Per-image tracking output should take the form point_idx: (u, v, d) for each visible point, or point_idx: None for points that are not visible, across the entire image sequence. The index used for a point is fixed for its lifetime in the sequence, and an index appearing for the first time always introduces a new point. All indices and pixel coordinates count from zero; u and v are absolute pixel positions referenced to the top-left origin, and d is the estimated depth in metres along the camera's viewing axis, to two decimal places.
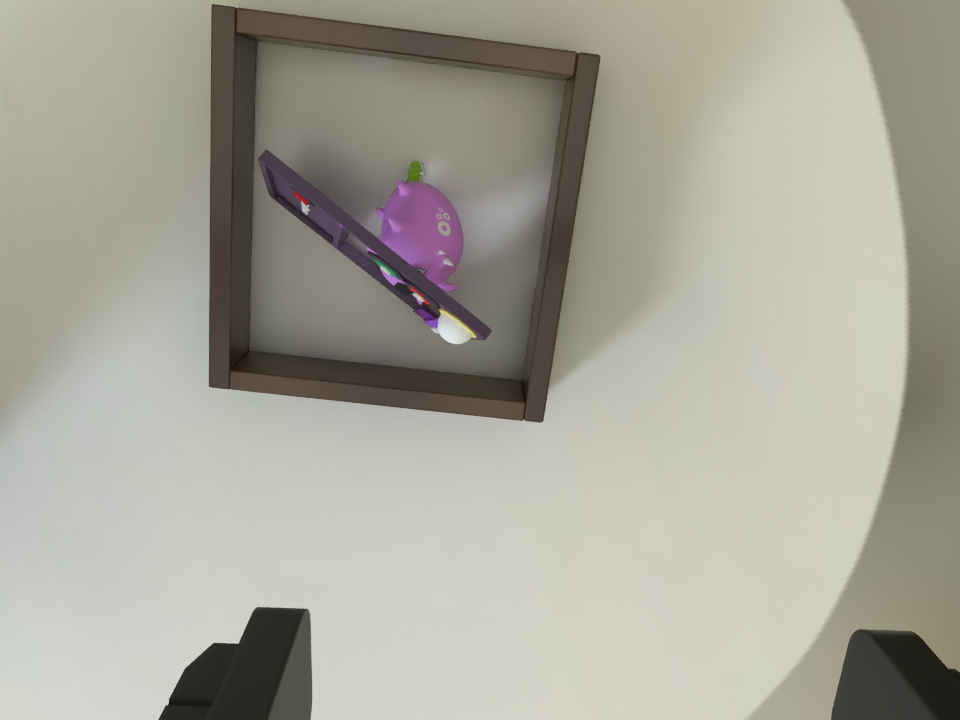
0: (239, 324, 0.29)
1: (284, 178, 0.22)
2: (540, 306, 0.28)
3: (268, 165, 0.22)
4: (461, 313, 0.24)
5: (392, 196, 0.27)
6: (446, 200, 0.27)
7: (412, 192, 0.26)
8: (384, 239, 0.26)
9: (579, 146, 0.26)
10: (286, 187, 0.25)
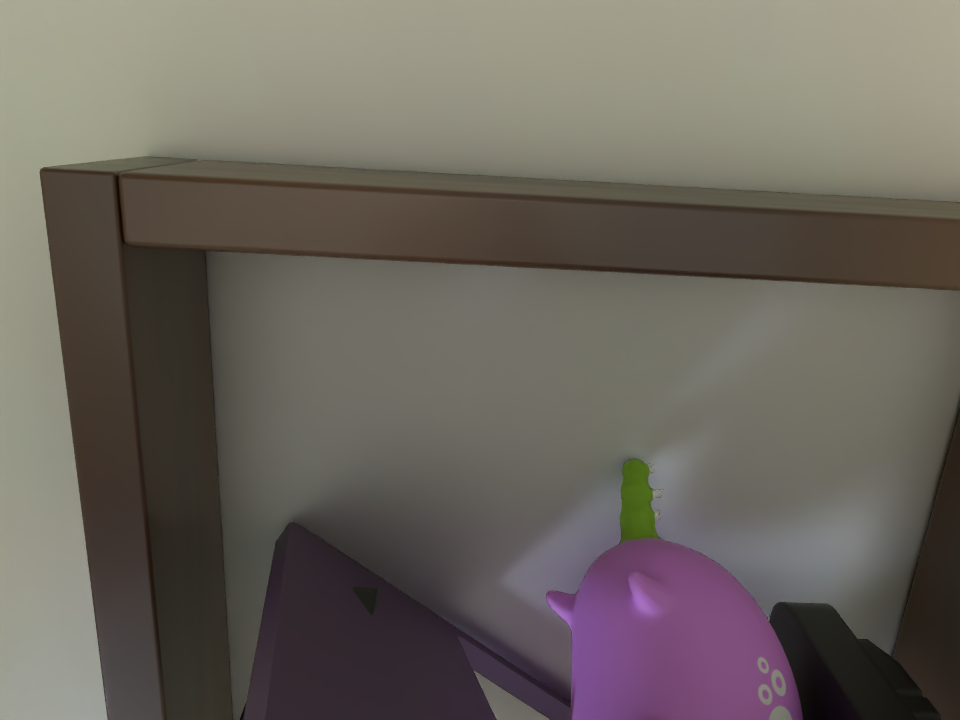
0: None
1: None
2: None
3: None
4: None
5: (607, 598, 0.10)
6: (757, 611, 0.10)
7: (675, 608, 0.09)
8: None
9: None
10: None
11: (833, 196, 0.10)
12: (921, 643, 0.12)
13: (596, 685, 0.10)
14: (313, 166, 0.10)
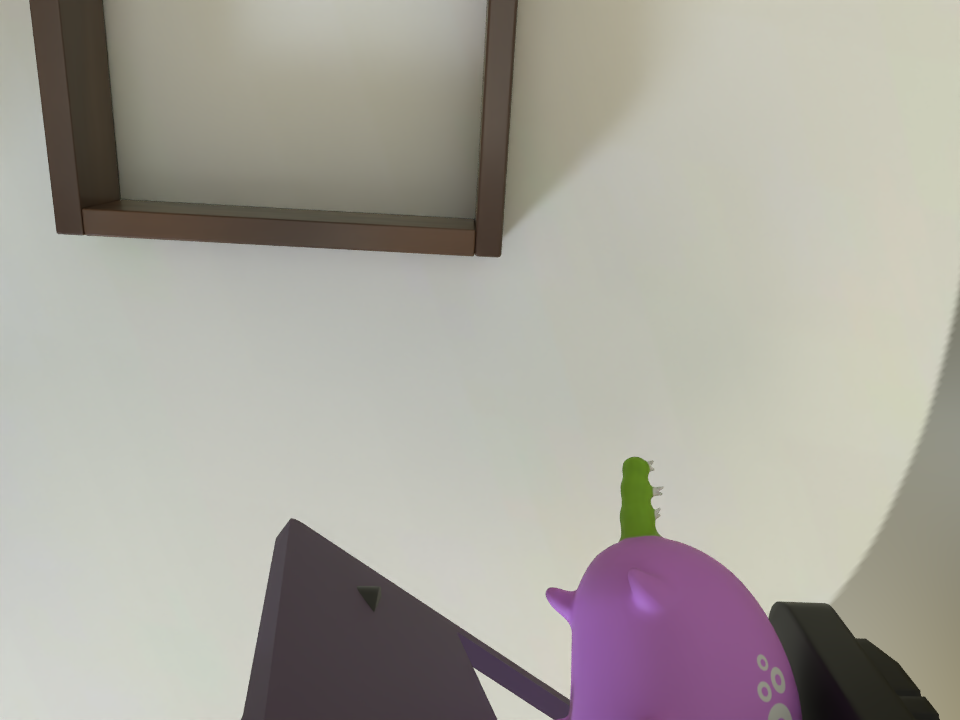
0: (95, 153, 0.22)
1: None
2: (484, 90, 0.21)
3: None
4: None
5: (607, 595, 0.10)
6: (757, 608, 0.10)
7: (675, 605, 0.09)
8: None
9: None
10: None
11: None
12: None
13: (596, 682, 0.10)
14: None
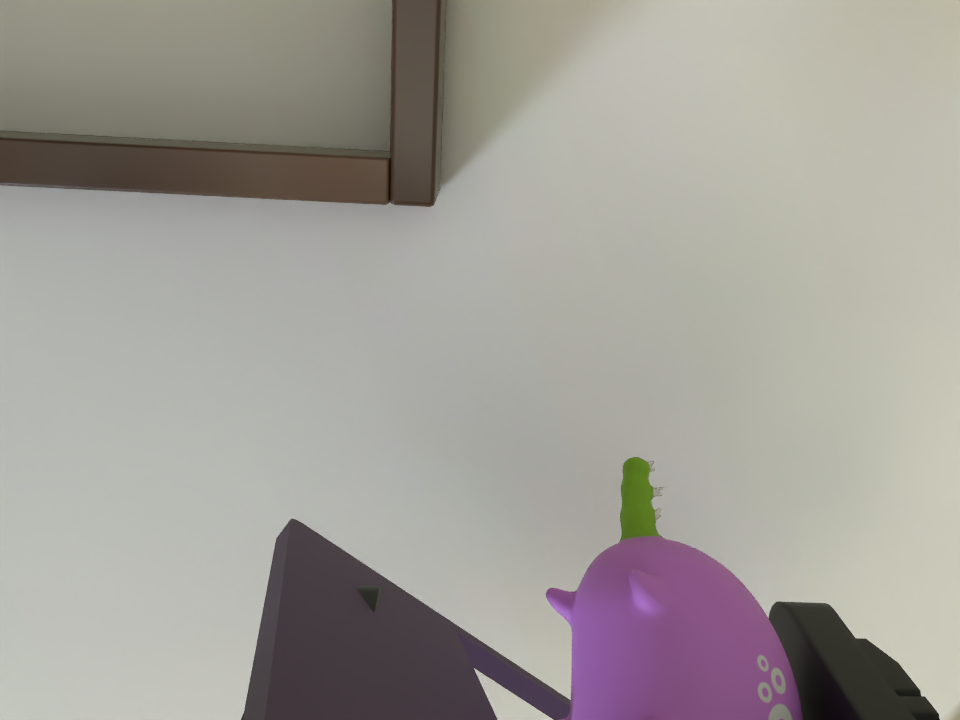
0: None
1: None
2: None
3: None
4: None
5: (608, 595, 0.10)
6: (757, 609, 0.10)
7: (675, 606, 0.09)
8: None
9: None
10: None
11: None
12: None
13: (596, 683, 0.10)
14: None
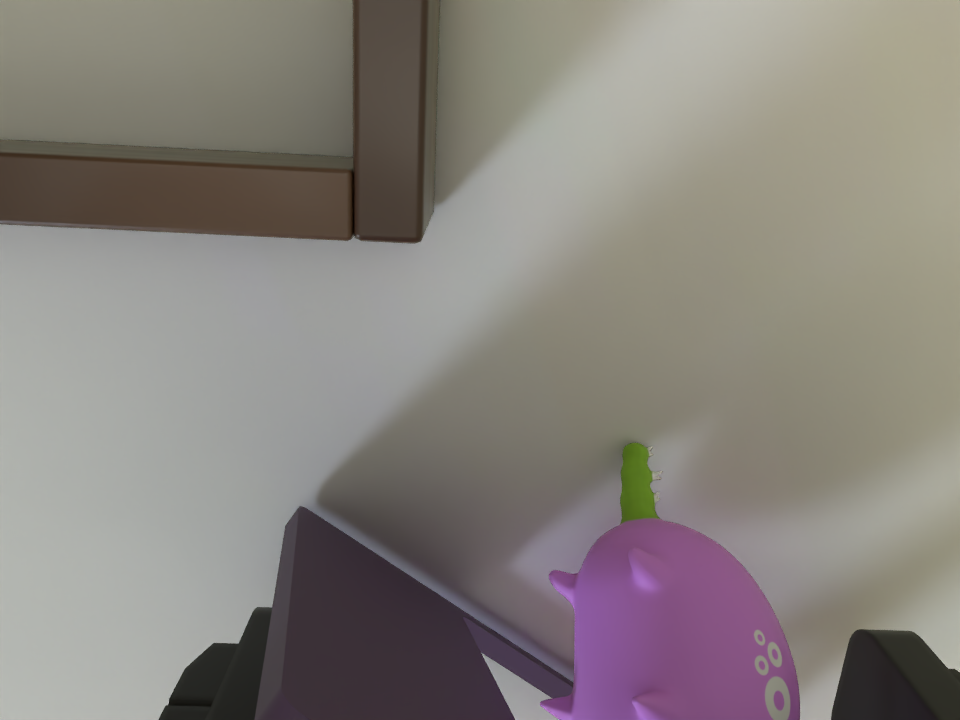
0: None
1: None
2: None
3: None
4: None
5: (608, 575, 0.10)
6: (754, 586, 0.10)
7: (674, 583, 0.10)
8: None
9: None
10: None
11: None
12: None
13: (598, 659, 0.10)
14: None
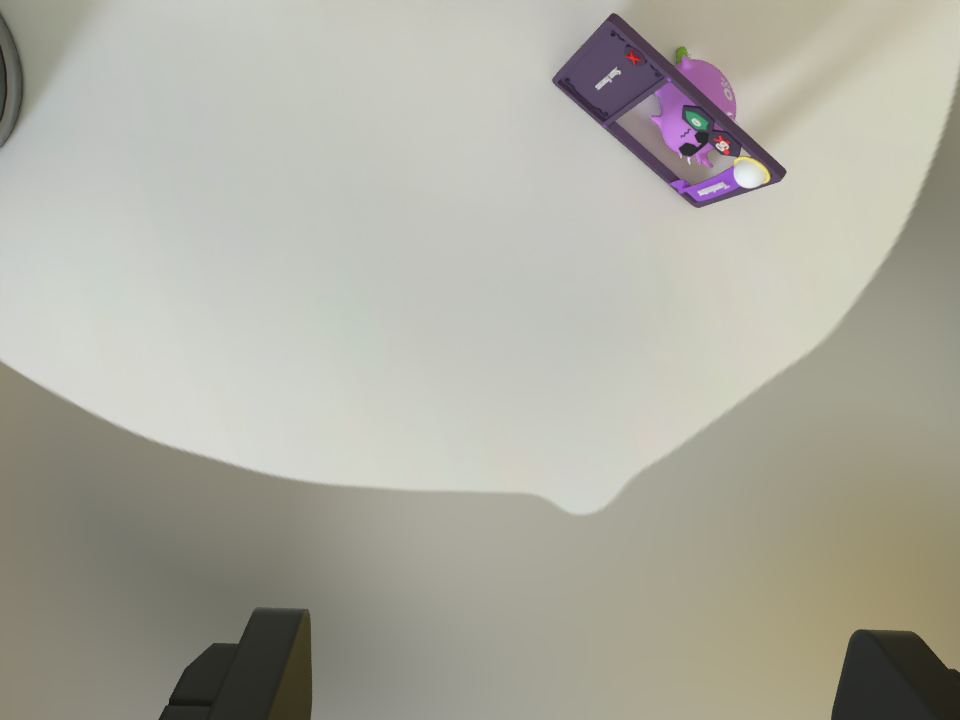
0: None
1: (628, 37, 0.27)
2: None
3: (616, 25, 0.27)
4: (764, 156, 0.28)
5: None
6: None
7: (696, 65, 0.30)
8: (676, 105, 0.30)
9: None
10: (598, 58, 0.29)
11: None
12: None
13: (671, 94, 0.31)
14: None
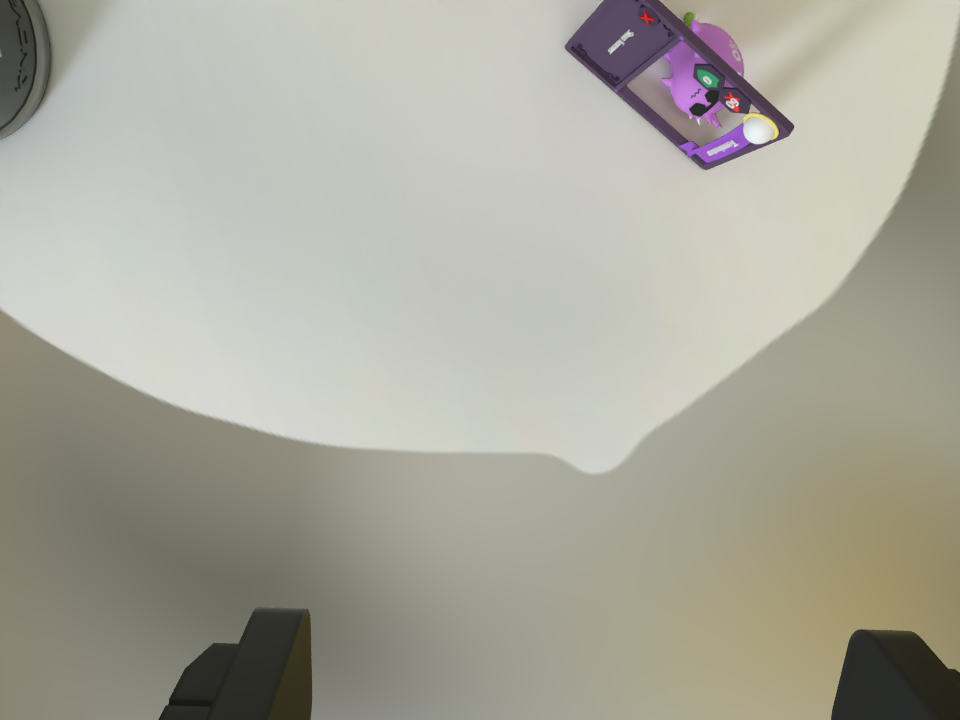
0: None
1: None
2: None
3: None
4: (773, 111, 0.29)
5: None
6: (729, 36, 0.32)
7: (705, 28, 0.32)
8: (686, 66, 0.31)
9: None
10: (611, 21, 0.31)
11: None
12: None
13: (681, 56, 0.32)
14: None
